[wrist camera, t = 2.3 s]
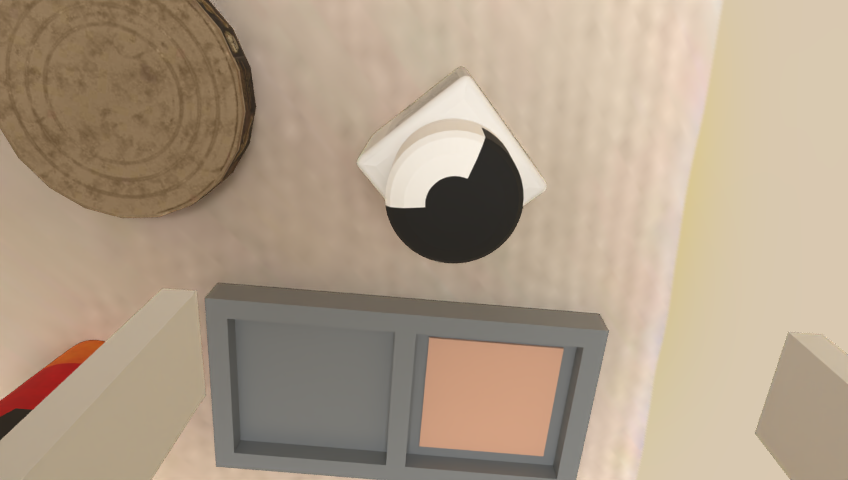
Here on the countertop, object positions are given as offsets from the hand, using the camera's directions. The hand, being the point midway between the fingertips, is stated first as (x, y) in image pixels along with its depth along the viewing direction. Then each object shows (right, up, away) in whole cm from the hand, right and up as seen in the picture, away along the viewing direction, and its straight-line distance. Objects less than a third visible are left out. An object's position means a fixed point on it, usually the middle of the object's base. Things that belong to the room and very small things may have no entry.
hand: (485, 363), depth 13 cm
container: (0, +9, +26) cm, 27 cm away
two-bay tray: (-3, -9, +32) cm, 33 cm away
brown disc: (-20, +13, +25) cm, 35 cm away
